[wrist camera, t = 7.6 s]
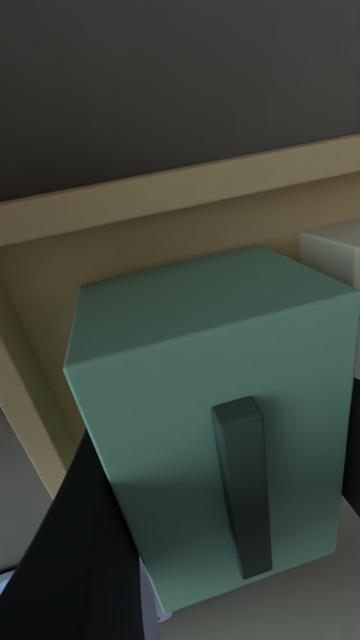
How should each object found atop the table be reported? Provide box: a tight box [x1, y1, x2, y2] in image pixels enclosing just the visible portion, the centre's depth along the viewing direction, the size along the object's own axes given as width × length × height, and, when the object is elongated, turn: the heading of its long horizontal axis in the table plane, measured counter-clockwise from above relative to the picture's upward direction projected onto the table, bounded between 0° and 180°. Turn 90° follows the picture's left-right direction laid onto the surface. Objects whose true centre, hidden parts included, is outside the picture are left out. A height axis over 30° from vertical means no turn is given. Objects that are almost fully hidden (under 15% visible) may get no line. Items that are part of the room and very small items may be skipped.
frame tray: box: [0, 133, 360, 500], centre depth 11 cm, size 18×13×2 cm
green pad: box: [63, 244, 360, 614], centre depth 8 cm, size 5×8×4 cm, turn 9°
